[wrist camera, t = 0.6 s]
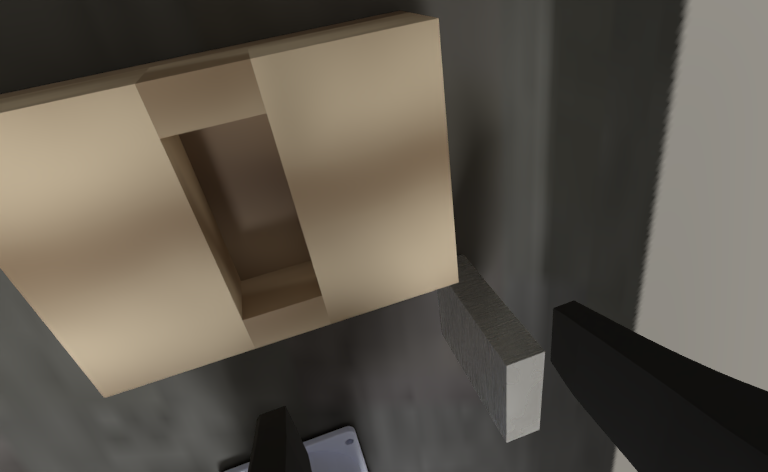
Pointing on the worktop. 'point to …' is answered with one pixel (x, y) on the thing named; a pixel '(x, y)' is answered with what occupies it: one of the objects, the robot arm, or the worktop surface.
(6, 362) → the worktop surface
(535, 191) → the worktop surface
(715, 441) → the robot arm
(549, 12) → the worktop surface
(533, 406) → the silver rectangular block
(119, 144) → the slotted tan block
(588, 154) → the worktop surface
